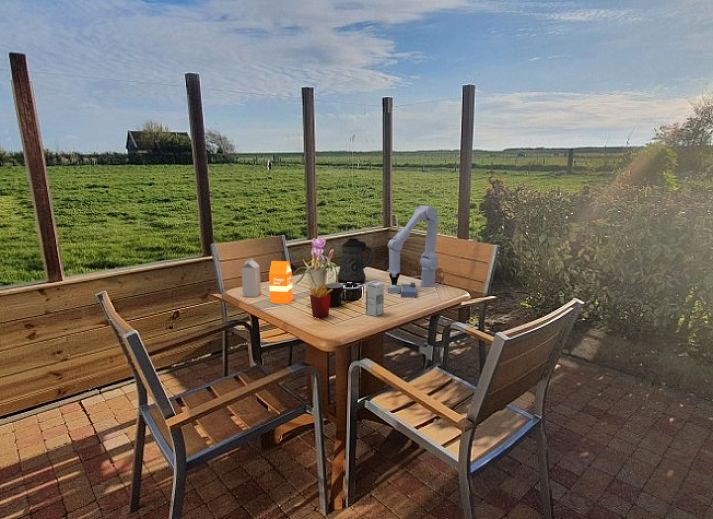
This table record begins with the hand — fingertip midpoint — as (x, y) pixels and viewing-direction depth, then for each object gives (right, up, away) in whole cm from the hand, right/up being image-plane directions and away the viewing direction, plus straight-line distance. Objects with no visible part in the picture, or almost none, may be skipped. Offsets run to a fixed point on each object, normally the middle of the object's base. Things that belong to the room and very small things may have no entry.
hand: (394, 286), depth 225 cm
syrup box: (-12, -10, -37) cm, 41 cm away
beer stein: (-22, +2, +18) cm, 28 cm away
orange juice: (-57, -6, -17) cm, 60 cm away
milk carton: (-74, -4, -8) cm, 74 cm away
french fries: (-35, -11, -41) cm, 55 cm away
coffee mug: (-30, -7, -25) cm, 39 cm away
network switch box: (+7, -3, -7) cm, 10 cm away
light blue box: (0, -2, -4) cm, 4 cm away
